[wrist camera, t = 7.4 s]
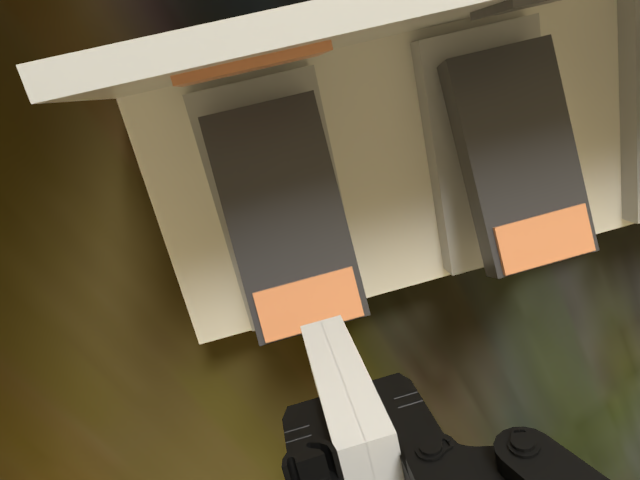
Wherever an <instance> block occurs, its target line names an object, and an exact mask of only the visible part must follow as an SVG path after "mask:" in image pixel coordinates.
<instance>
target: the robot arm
mask: <svg viewBox="0 0 640 480" xmlns="http://www.w3.org/2000/svg"><path fill="white" fill-rule="evenodd" d="M300 328H301V332H302V336H303V339H304V343H305V347H306V351H307V355H308V359H309V362H310V366H311V370H312V374H313V378H314V382H315V385H316V389H317V393H318V398H315V399H312V400H308V401H305V402H301V403H298V404H294V405H291V406H288V407H287V409H286V411H285V414H284V416H283V419H282V421H283V428H284V433H285V434H284V435H285V442H286V449H287V453H286V455H285V456H284V458H283V460H282V470H283V474H284V477H285V480H610V479H608V478H607V477H605V476H604V475H602V474H601V473H600V472H598V471H597V470H595V469H594V468H593V467H591V466H590V465H588V464H587V463H586V462H584V461H583V460H581V459H580V458H578V457H577V456H576V455H574V454H573V453H571V452H570V451H569V450H567V449H566V448H564V447H563V446H561V445H560V444H559V443H557V442H556V441H554V440H553V439H552V438H550V437H549V436H547V435H546V434H544V433H542V432H540V431H538V430H536V429H533V428H528V427H512V428H509V429H506V430H503V431H502V432H501V433H500V434H498V435H497V436H496V438H495V441H494V443H493V444H494V446H481V447H474V446H465V445H461V444H458V443H457V442H456V441H455V440H454V439H453V438H452V437H450V436H448V435H446V434H444V433H443V432H442V430H441V429H440V427H439V425H438V424H437V422H436V420H435V419H434V417H433V416H432V414H431V412H430V411H429V409H428V407H427V406H426V404H425V402H424V401H423V399H422V398H421V396H420V394H419V393H418V392H417V389H416V388H415V386H414V385H413V383H412V381H411V380H410V379H408V378H406V377H405V376H403V375H401V374H400V373H396V374H393V375H389V376H386V377H383V378H379V379H376V380H371V378H370V376H369V374H368V372H367V370H366V367H365V365H364V363H363V361H362V359H361V357H360V355H359V353H358V351H357V349H356V346H355V344H354V342H353V340H352V338H351V336H350V334H349V332H348V330H347V328H346V325H345V323H344V321H343V319H342V317H341V315H338V316H335V317H331V318H328V319H324V320H321V321H317V322H313V323H310V324H306V325H303V326H300Z"/></svg>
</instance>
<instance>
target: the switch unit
mask: <svg viewBox="0 0 640 480" xmlns="http://www.w3.org/2000/svg"><path fill="white" fill-rule="evenodd" d="M550 34H551V36H552V40H553V45H554V49H555V54H556V58H557V63H558V67H559V72H560V76H561V80H562V85H563V89H564V94H565V98H566V103H567V107H568V112H569V116H570V121H571V125H572V130H573V134H574V139H575V143H576V148H577V152H578V156H579V161H580V165H581V170H582V174H583V179H584V183H585V188H586V192H587V197H588V201H589V206H590V210H591V215H592V219H593V224H594V228H595V233H596V234H599V233H602V232H606V231H610V230H613V229H617V228H620V227H624V226H628V225H631V224H635V223H636V224H640V0H311V1H306V2H302V3H297V4H292V5H288V6H283V7H279V8H274V9H269V10H265V11H260V12H256V13H251V14H246V15H242V16H237V17H233V18H228V19H224V20H219V21H214V22H210V23H205V24H201V25H196V26H191V27H187V28H182V29H178V30H173V31H169V32H164V33H159V34H155V35H150V36H146V37H141V38H136V39H132V40H127V41H123V42H118V43H113V44H109V45H104V46H100V47H95V48H91V49H86V50H81V51H77V52H72V53H68V54H63V55H58V56H54V57H49V58H45V59H40V60H35V61H31V62H26V63H22V64H17V65H16V67H17V70H18V72H19V75H20V77H21V80H22V82H23V85H24V88H25V90H26V93H27V95H28V98H29V100H30V103H31V104H43V103H58V102H73V101H88V100H103V99H116V100H117V103H118V106H119V109H120V112H121V115H122V118H123V121H124V124H125V127H126V130H127V133H128V135H129V138H130V141H131V144H132V147H133V150H134V153H135V156H136V159H137V162H138V165H139V168H140V171H141V174H142V177H143V180H144V183H145V186H146V188H147V191H148V194H149V197H150V200H151V203H152V206H153V209H154V212H155V215H156V218H157V221H158V224H159V227H160V230H161V233H162V236H163V239H164V242H165V244H166V247H167V250H168V253H169V256H170V259H171V262H172V265H173V268H174V271H175V274H176V277H177V280H178V283H179V286H180V289H181V292H182V295H183V298H184V300H185V303H186V306H187V309H188V312H189V315H190V318H191V321H192V324H193V327H194V330H195V333H196V336H197V339H198V342H199V345H200V344H204V343H207V342H211V341H214V340H218V339H222V338H225V337H229V336H232V335H236V334H240V333H243V332H247V331H250V330H252V332H253V331H255V328H254V324H253V320H252V317H251V313H250V309H249V306H248V302H247V298H246V294H245V291H244V287H243V283H242V280H241V276H240V272H239V268H238V265H237V261H236V257H235V254H234V250H233V246H232V243H231V239H230V235H229V231H228V228H227V224H226V220H225V217H224V213H223V209H222V205H221V202H220V198H219V194H218V191H217V187H216V183H215V180H214V176H213V172H212V168H211V165H210V161H209V157H208V154H207V150H206V146H205V142H204V139H203V135H202V131H201V128H200V124H199V120H198V117H201V116H206V115H210V114H214V113H218V112H222V111H227V110H231V109H235V108H239V107H244V106H248V105H252V104H256V103H261V102H265V101H269V100H273V99H278V98H282V97H286V96H290V95H295V94H299V93H303V92H307V91H312V90H314V94H315V98H316V102H317V106H318V110H319V114H320V118H321V122H322V126H323V129H324V133H325V137H326V141H327V145H328V149H329V153H330V157H331V161H332V165H333V169H334V173H335V177H336V181H337V184H338V188H339V192H340V196H341V200H342V204H343V208H344V212H345V216H346V220H347V224H348V228H349V232H350V236H351V239H352V243H353V247H354V251H355V255H356V259H357V263H358V267H359V271H360V275H361V279H362V283H363V287H364V291H365V294H366V298H369V297H372V296H376V295H380V294H383V293H387V292H390V291H394V290H398V289H401V288H405V287H408V286H412V285H416V284H419V283H423V282H426V281H430V280H434V279H437V278H441V277H444V276H448V275H452V276H454V275H457V274H461V273H465V272H468V271H472V270H475V269H479V268H483V267H484V264H483V260H482V256H481V251H480V247H479V243H478V239H477V235H476V231H475V226H474V222H473V218H472V214H471V210H470V205H469V201H468V197H467V193H466V189H465V184H464V180H463V176H462V172H461V168H460V164H459V159H458V155H457V151H456V147H455V143H454V138H453V134H452V130H451V126H450V122H449V117H448V113H447V109H446V105H445V101H444V96H443V92H442V88H441V84H440V80H439V76H438V71H437V67H438V66H439V65H440V64H441V63H442V62H443V61H444V60H445V59H448V58H452V57H456V56H460V55H465V54H469V53H473V52H477V51H482V50H486V49H490V48H494V47H499V46H503V45H507V44H511V43H516V42H520V41H524V40H528V39H533V38H537V37H541V36H545V35H550Z"/></svg>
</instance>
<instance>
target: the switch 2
mask: <svg viewBox="0 0 640 480" xmlns="http://www.w3.org/2000/svg"><path fill="white" fill-rule="evenodd" d="M437 71H438V76H439V80H440V84H441V88H442V92H443V96H444V101H445V105H446V109H447V113H448V117H449V122H450V126H451V130H452V134H453V138H454V143H455V147H456V151H457V155H458V159H459V164H460V168H461V172H462V176H463V180H464V184H465V189H466V193H467V197H468V201H469V205H470V210H471V214H472V218H473V222H474V226H475V231H476V235H477V239H478V243H479V247H480V251H481V256H482V260H483V264H484V268H485V272H486V276H488V277H492V278H496V279H500V278H504V277H507V276H511V275H514V274H518V273H521V272H525V271H529V270H532V269H536V268H539V267H543V266H546V265H550V264H553V263H557V262H561V261H564V260H568V259H571V258H575V257H578V256H582V255H585V254H589V253H592V252H596V251H600V250H599V246H598V241H597V237H596V233H595V228H594V224H593V219H592V215H591V210H590V206H589V201H588V197H587V192H586V188H585V183H584V179H583V174H582V170H581V165H580V161H579V156H578V152H577V148H576V143H575V139H574V134H573V130H572V125H571V121H570V116H569V112H568V107H567V103H566V98H565V94H564V89H563V85H562V80H561V76H560V72H559V67H558V63H557V58H556V54H555V49H554V45H553V40H552V36H551V34H550V35H545V36H541V37H537V38H533V39H528V40H524V41H520V42H516V43H511V44H507V45H503V46H499V47H494V48H490V49H486V50H482V51H477V52H473V53H469V54H465V55H460V56H456V57H452V58H448V59H445V60H444V61H443V62H442V63H441V64H440V65H439V66H438V67H437Z"/></svg>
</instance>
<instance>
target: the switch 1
mask: <svg viewBox="0 0 640 480" xmlns="http://www.w3.org/2000/svg"><path fill="white" fill-rule="evenodd" d="M198 120H199V124H200V128H201V131H202V135H203V139H204V142H205V146H206V150H207V154H208V157H209V161H210V165H211V168H212V172H213V176H214V180H215V183H216V187H217V191H218V194H219V198H220V202H221V205H222V209H223V213H224V217H225V220H226V224H227V228H228V231H229V235H230V239H231V243H232V246H233V250H234V254H235V257H236V261H237V265H238V268H239V272H240V276H241V280H242V283H243V287H244V291H245V294H246V298H247V302H248V306H249V309H250V313H251V317H252V320H253V324H254V328H255V331H256V335H257V339H258V343H259V346H262V345H266V344H270V343H273V342H277V341H280V340H284V339H287V338H291V337H294V336H298V335H301V334H302V332H301V328H300V326H303V325H306V324H310V323H313V322H317V321H321V320H324V319H328V318H331V317H335V316H338V315H341V317H342V319H343V321H344V322H348V321H351V320H355V319H358V318H362V317H365V316H369V315H371V314H370V310H369V306H368V302H367V298H366V294H365V291H364V287H363V283H362V279H361V275H360V271H359V267H358V263H357V259H356V255H355V251H354V247H353V243H352V239H351V236H350V232H349V228H348V224H347V220H346V216H345V212H344V208H343V204H342V200H341V196H340V192H339V188H338V184H337V181H336V177H335V173H334V169H333V165H332V161H331V157H330V153H329V149H328V145H327V141H326V137H325V133H324V129H323V126H322V122H321V118H320V114H319V110H318V106H317V102H316V98H315V94H314V90H312V91H307V92H303V93H299V94H295V95H290V96H286V97H282V98H278V99H273V100H269V101H265V102H261V103H256V104H252V105H248V106H244V107H239V108H235V109H231V110H227V111H222V112H218V113H214V114H210V115H206V116H201V117H198Z"/></svg>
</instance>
